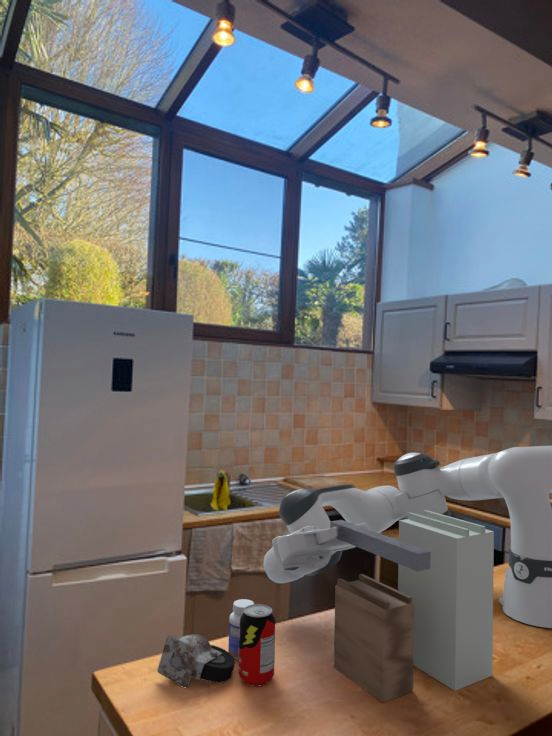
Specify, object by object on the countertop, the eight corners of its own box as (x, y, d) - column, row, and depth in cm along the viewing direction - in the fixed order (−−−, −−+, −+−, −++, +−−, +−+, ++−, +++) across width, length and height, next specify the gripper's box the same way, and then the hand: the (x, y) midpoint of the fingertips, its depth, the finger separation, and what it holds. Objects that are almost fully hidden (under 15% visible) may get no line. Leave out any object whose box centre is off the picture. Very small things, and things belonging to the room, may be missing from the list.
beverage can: (261, 666, 100) (263, 600, 100) (281, 682, 95) (282, 612, 95) (231, 675, 96) (233, 607, 97) (249, 692, 91) (251, 620, 91)
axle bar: (341, 534, 107) (341, 519, 107) (430, 568, 88) (430, 551, 88) (330, 535, 106) (330, 521, 106) (418, 571, 86) (418, 554, 86)
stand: (432, 643, 110) (434, 509, 111) (492, 675, 98) (493, 524, 99) (396, 655, 105) (399, 514, 106) (455, 690, 93) (457, 531, 94)
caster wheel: (236, 684, 98) (207, 704, 89) (186, 656, 103) (154, 672, 94) (246, 647, 99) (219, 664, 90) (196, 621, 104) (166, 634, 95)
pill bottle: (237, 644, 108) (238, 595, 108) (261, 651, 105) (262, 600, 106) (222, 656, 103) (224, 605, 103) (247, 663, 101) (248, 610, 101)
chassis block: (362, 657, 104) (364, 573, 104) (412, 691, 93) (414, 596, 93) (333, 667, 100) (335, 579, 101) (382, 703, 89) (384, 604, 90)
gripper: (352, 556, 118) (392, 538, 108) (272, 572, 107) (308, 553, 97) (344, 528, 121) (381, 508, 111) (265, 540, 110) (298, 519, 100)
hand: (346, 529), depth 104 cm, fingers closed on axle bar, 3 cm apart
